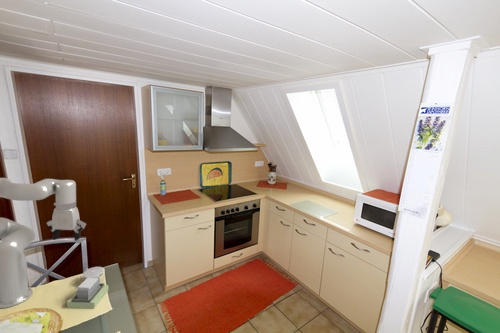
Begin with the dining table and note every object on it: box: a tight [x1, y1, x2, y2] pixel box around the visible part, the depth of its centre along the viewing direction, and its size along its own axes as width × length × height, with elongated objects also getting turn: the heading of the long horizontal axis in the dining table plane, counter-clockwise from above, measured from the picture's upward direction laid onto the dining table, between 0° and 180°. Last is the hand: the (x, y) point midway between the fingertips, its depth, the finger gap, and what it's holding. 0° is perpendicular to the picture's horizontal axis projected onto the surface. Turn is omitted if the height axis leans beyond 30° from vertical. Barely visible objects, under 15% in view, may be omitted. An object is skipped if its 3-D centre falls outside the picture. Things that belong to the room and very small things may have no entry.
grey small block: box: [76, 277, 101, 300], centre depth 109 cm, size 5×9×6 cm, turn 3°
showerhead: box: [82, 266, 105, 280], centre depth 121 cm, size 9×7×10 cm
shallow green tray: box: [66, 282, 109, 309], centre depth 110 cm, size 12×12×4 cm
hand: (67, 238), depth 110 cm, fingers open, 9 cm apart
